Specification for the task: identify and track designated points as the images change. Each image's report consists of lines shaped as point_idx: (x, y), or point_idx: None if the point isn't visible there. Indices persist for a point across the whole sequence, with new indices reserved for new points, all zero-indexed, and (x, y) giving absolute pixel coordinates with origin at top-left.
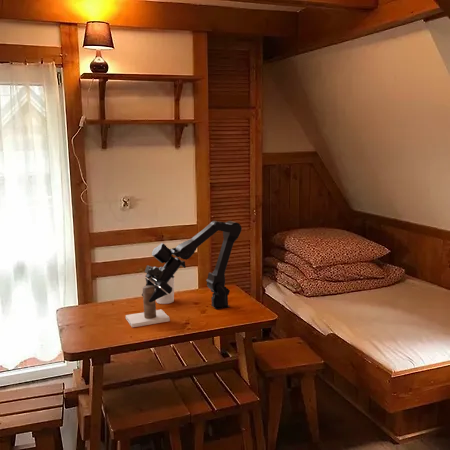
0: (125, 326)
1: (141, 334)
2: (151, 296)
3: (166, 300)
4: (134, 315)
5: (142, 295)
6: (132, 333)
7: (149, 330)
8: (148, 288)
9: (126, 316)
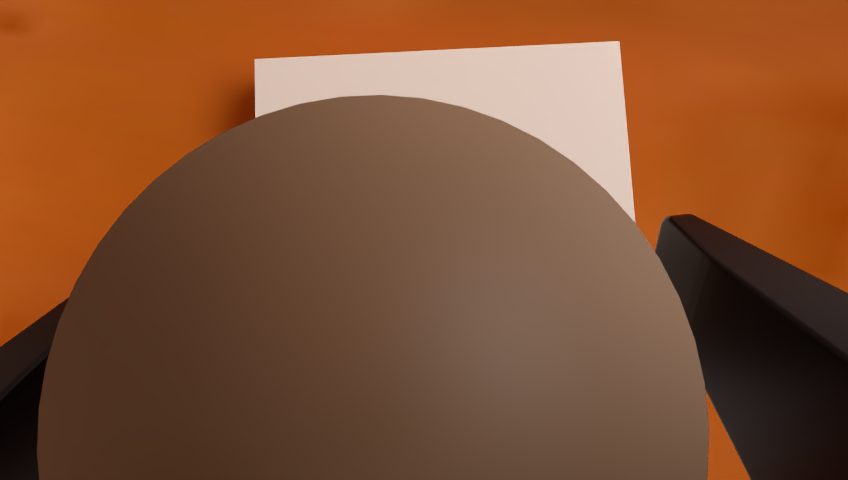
0: (339, 16)
1: (7, 131)
2: (2, 369)
3: None
4: (559, 145)
5: (665, 232)
6: (86, 49)
7: (81, 238)
8: (94, 351)
9: (564, 44)
